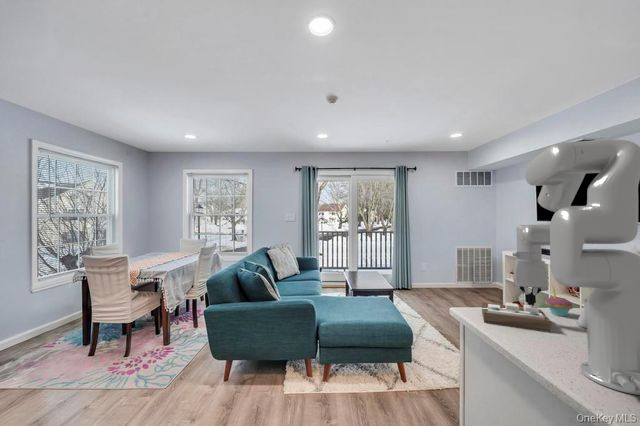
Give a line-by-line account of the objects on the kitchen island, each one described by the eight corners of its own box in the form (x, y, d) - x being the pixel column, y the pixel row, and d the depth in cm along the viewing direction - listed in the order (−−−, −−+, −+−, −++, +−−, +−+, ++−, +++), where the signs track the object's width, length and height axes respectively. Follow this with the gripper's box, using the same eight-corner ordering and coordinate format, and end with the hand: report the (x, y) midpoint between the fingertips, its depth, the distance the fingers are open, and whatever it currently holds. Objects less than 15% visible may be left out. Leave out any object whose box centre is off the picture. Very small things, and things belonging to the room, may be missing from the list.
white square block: (500, 314, 106) (500, 307, 106) (488, 313, 108) (488, 306, 108) (499, 311, 110) (499, 305, 110) (488, 310, 112) (487, 303, 112)
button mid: (519, 313, 103) (519, 306, 104) (506, 312, 105) (506, 305, 105) (517, 310, 107) (517, 304, 107) (505, 309, 109) (505, 302, 109)
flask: (610, 331, 94) (609, 303, 95) (586, 330, 96) (584, 301, 96) (594, 324, 101) (593, 297, 102) (571, 322, 103) (570, 296, 103)
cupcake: (554, 317, 109) (553, 287, 109) (540, 310, 117) (539, 283, 117) (578, 318, 107) (577, 288, 108) (563, 311, 115) (562, 283, 116)
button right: (539, 316, 101) (538, 309, 101) (525, 314, 102) (525, 307, 103) (536, 312, 104) (536, 306, 104) (523, 311, 106) (523, 304, 106)
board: (551, 332, 94) (550, 317, 94) (484, 322, 103) (483, 309, 103) (541, 319, 106) (540, 306, 106) (482, 312, 116) (481, 300, 116)
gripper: (507, 256, 104) (508, 304, 104) (557, 259, 97) (558, 310, 97) (504, 254, 111) (505, 299, 110) (551, 256, 104) (552, 304, 103)
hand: (530, 304), depth 104 cm, fingers closed
